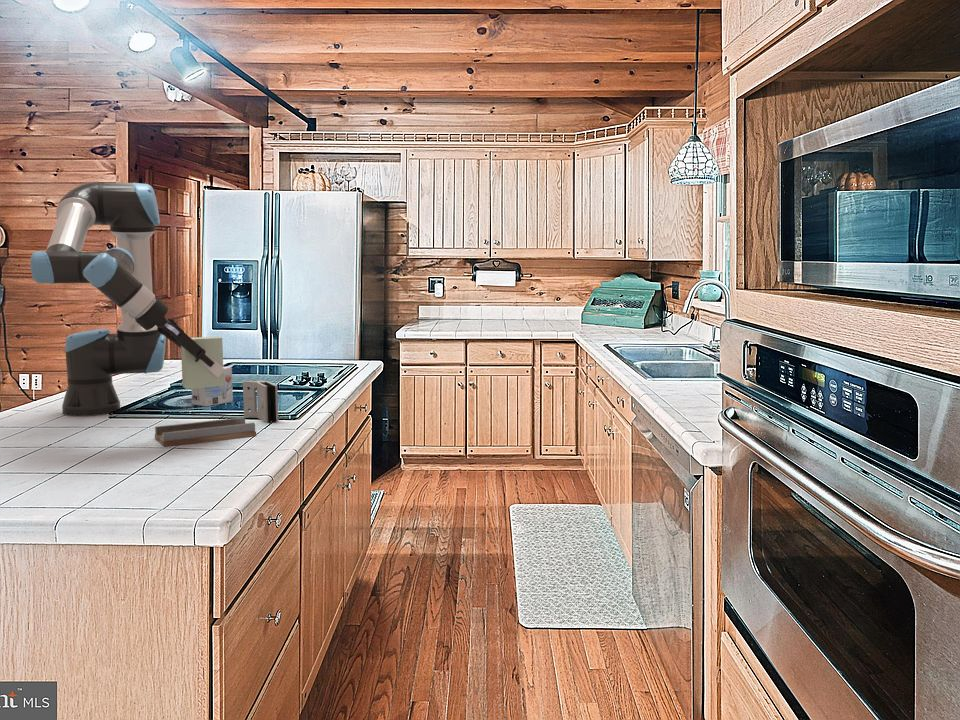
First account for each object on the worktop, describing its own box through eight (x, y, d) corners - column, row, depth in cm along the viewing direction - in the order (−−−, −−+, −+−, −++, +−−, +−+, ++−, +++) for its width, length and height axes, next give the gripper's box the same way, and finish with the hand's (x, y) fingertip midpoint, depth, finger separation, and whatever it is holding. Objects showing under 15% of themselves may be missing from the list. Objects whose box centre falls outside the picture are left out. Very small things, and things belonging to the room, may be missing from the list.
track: (154, 437, 208) (154, 426, 207) (243, 427, 220) (242, 416, 219) (164, 446, 199) (164, 434, 198) (256, 435, 210) (255, 424, 210)
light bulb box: (205, 407, 249) (204, 371, 247) (190, 404, 252) (189, 369, 251) (234, 401, 258) (232, 366, 256) (219, 399, 261) (218, 365, 260)
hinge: (243, 416, 235) (242, 380, 234) (260, 413, 239) (259, 379, 238) (268, 423, 225) (267, 386, 224) (285, 421, 229) (284, 384, 228)
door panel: (182, 386, 207) (180, 338, 205) (219, 383, 211) (217, 336, 210) (186, 389, 203) (184, 339, 202) (224, 385, 208) (222, 337, 207)
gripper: (127, 317, 204) (199, 379, 215) (141, 322, 190) (217, 388, 201) (148, 294, 206) (219, 357, 217) (164, 298, 192) (239, 364, 203)
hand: (218, 372), depth 209 cm, fingers closed on door panel, 4 cm apart
